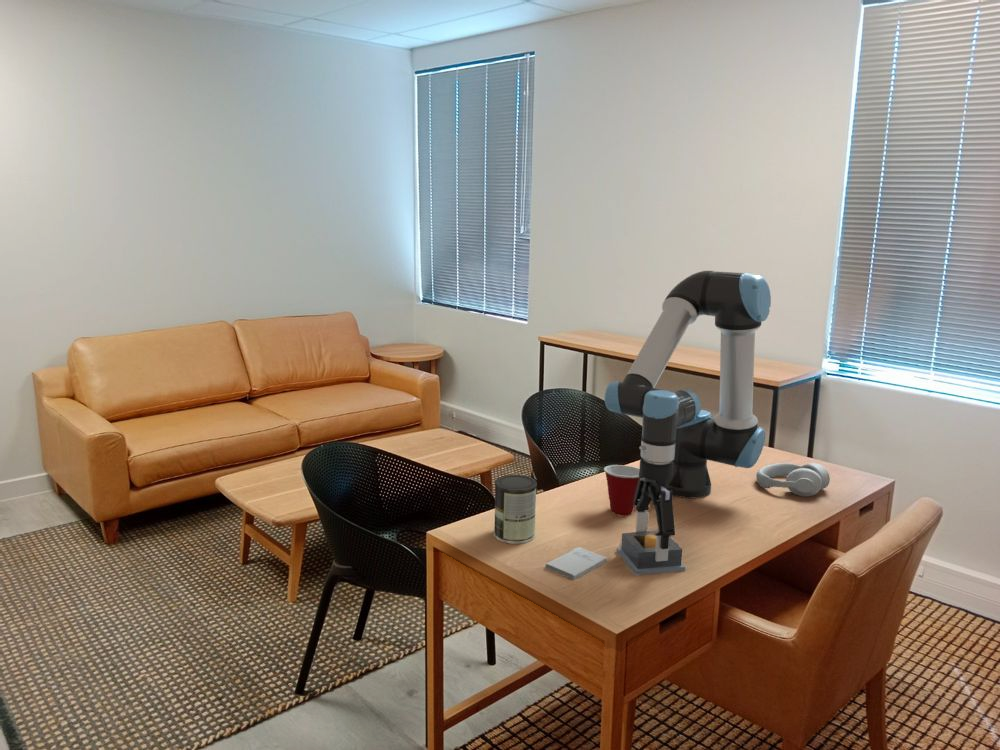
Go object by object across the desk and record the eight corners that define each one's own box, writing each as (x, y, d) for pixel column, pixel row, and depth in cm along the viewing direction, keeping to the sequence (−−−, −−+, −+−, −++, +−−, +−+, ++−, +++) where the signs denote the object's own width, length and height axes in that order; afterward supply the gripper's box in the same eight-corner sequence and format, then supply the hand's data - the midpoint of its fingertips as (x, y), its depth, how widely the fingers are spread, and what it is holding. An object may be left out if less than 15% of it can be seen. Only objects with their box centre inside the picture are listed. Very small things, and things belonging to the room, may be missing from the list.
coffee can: (485, 537, 193) (486, 483, 189) (508, 523, 201) (510, 471, 198) (520, 548, 187) (522, 492, 184) (543, 533, 195) (544, 480, 192)
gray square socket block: (662, 545, 188) (663, 530, 187) (681, 565, 178) (682, 549, 177) (621, 548, 185) (622, 533, 184) (637, 569, 175) (638, 552, 174)
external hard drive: (545, 569, 177) (578, 552, 186) (574, 582, 172) (606, 563, 181) (545, 563, 177) (578, 545, 186) (574, 575, 172) (606, 556, 181)
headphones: (838, 486, 230) (774, 478, 244) (838, 461, 229) (773, 454, 243) (812, 503, 217) (746, 493, 231) (812, 476, 216) (745, 467, 230)
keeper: (663, 547, 189) (665, 524, 187) (685, 570, 177) (687, 546, 176) (616, 551, 186) (617, 528, 185) (635, 575, 175) (636, 550, 173)
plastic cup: (648, 509, 212) (651, 467, 209) (633, 522, 203) (636, 479, 200) (611, 500, 217) (613, 459, 215) (595, 513, 208) (597, 471, 205)
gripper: (622, 443, 186) (617, 528, 191) (662, 478, 164) (656, 573, 169) (652, 442, 188) (646, 526, 193) (695, 476, 165) (688, 571, 170)
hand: (650, 548), depth 181 cm, fingers open, 11 cm apart
